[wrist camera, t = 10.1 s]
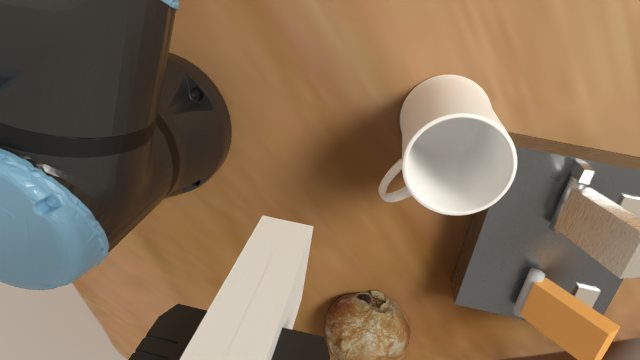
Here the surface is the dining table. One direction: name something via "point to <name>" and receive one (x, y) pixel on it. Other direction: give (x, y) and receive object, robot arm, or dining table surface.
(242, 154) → the dining table surface
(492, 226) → the panel
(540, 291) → the orange and white block
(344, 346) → the bread roll
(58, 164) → the robot arm
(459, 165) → the mug
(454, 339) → the dining table surface
